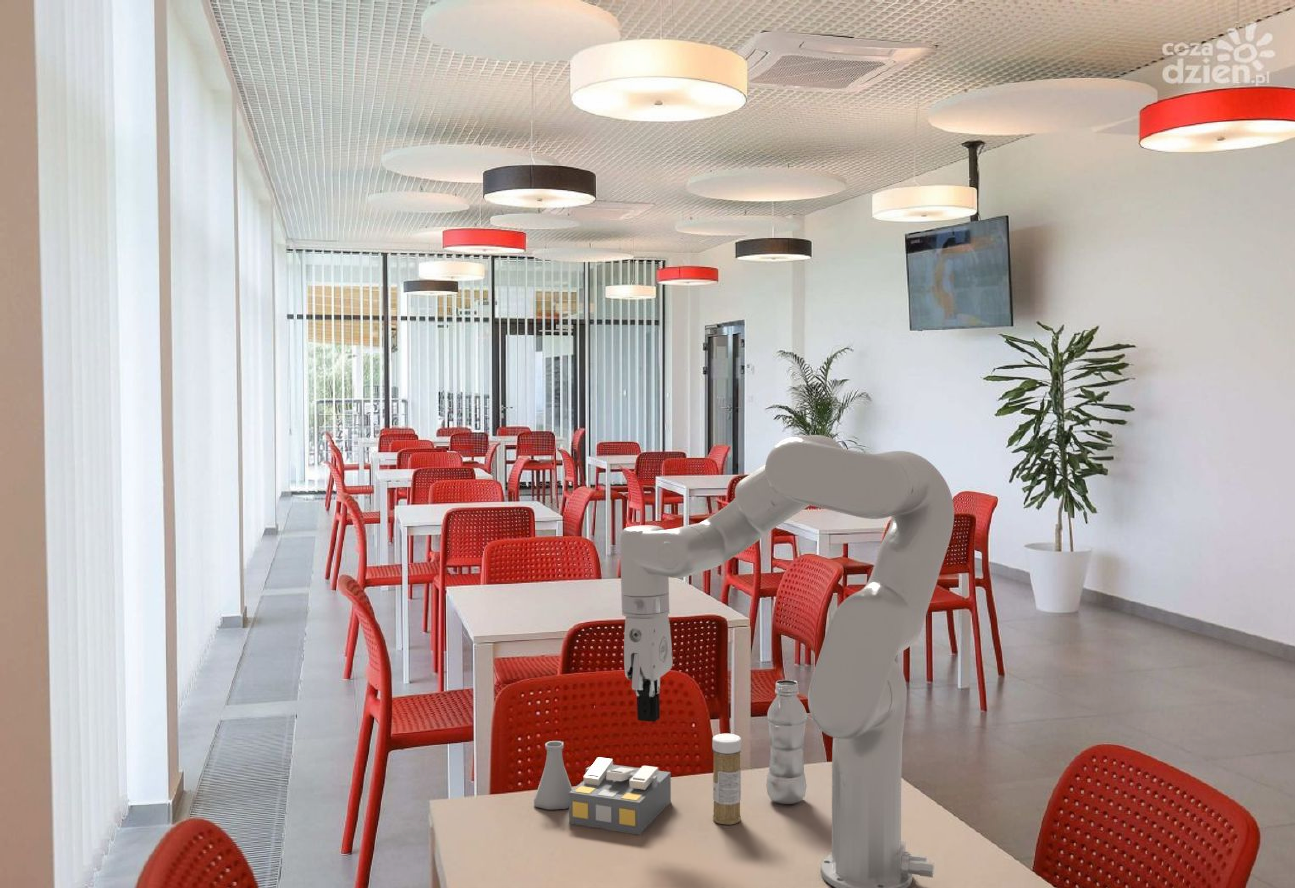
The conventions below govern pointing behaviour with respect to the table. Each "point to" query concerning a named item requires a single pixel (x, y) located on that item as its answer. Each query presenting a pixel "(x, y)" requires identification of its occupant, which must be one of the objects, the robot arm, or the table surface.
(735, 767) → the sprinkles bottle
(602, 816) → the console
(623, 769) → the switch
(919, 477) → the robot arm
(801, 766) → the plastic bottle
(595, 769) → the switch
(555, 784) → the flask
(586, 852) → the table surface
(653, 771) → the switch
